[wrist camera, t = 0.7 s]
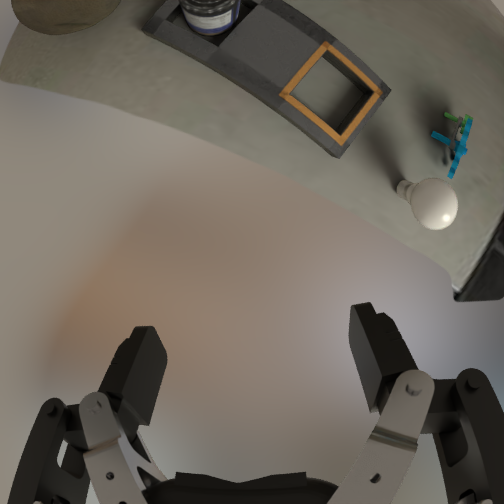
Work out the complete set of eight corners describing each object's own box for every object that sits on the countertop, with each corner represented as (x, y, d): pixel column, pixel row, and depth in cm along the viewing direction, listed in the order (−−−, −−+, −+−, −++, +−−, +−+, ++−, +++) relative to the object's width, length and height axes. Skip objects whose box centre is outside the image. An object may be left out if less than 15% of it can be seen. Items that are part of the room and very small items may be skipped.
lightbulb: (415, 162, 34) (467, 180, 24) (419, 203, 36) (466, 229, 26) (380, 171, 34) (430, 191, 24) (386, 213, 37) (431, 244, 27)
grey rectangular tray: (146, 35, 24) (140, 28, 21) (207, -29, 20) (206, -38, 18) (331, 156, 33) (339, 158, 30) (381, 91, 29) (392, 90, 27)
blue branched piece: (450, 189, 34) (462, 167, 25) (419, 171, 37) (422, 145, 28) (470, 136, 32) (481, 105, 23) (440, 120, 35) (445, 86, 26)
